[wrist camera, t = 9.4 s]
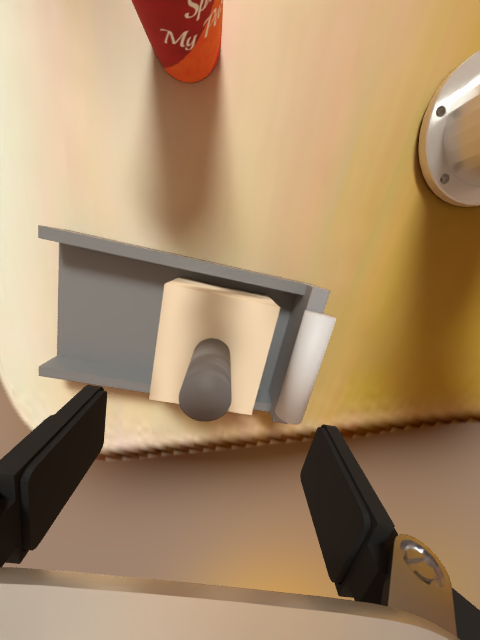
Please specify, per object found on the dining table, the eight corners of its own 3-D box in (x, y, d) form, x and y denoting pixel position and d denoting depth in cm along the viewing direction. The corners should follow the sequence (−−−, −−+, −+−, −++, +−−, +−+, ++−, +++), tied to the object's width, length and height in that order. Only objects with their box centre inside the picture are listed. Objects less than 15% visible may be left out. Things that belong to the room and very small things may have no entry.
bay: (314, 285, 25) (350, 297, 18) (281, 396, 29) (299, 444, 21) (66, 229, 22) (-11, 217, 15) (63, 360, 26) (-2, 401, 19)
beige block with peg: (267, 295, 24) (304, 332, 12) (246, 380, 26) (260, 476, 15) (180, 276, 23) (133, 298, 11) (166, 366, 26) (116, 458, 14)
